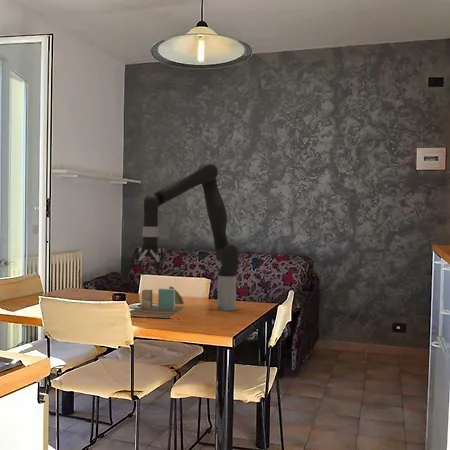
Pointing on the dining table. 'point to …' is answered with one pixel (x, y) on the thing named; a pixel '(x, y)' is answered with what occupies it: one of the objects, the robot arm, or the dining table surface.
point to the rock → (177, 297)
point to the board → (154, 312)
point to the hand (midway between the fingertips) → (149, 269)
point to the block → (146, 299)
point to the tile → (166, 299)
